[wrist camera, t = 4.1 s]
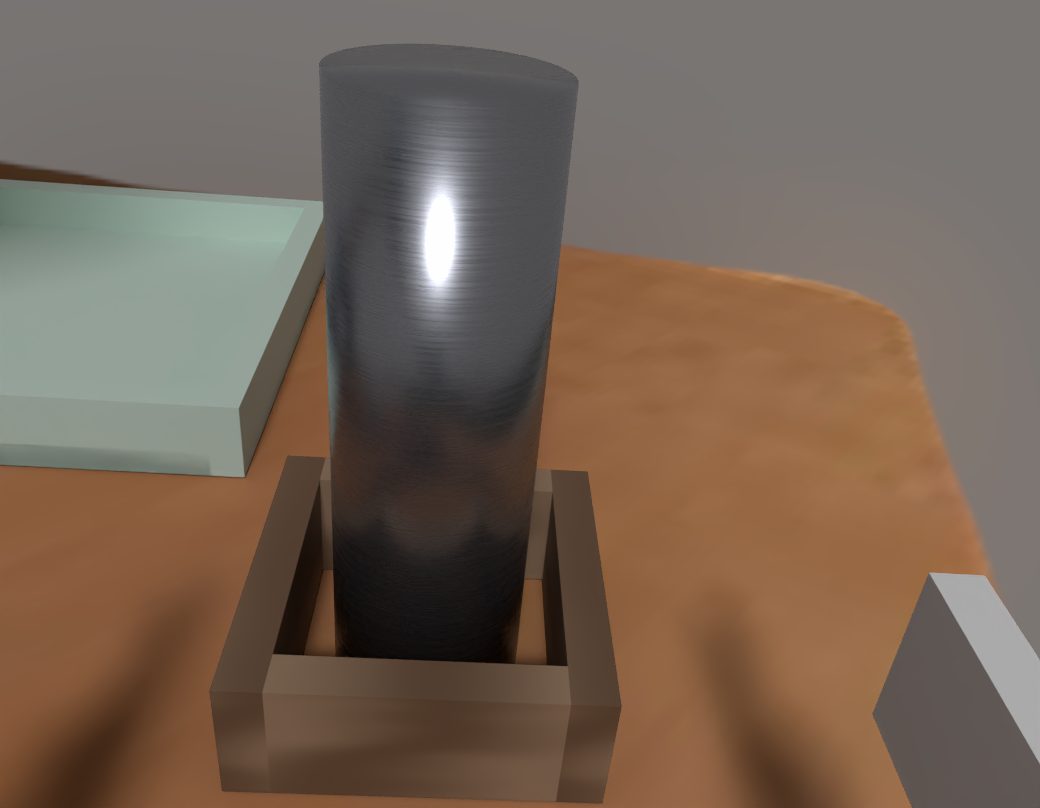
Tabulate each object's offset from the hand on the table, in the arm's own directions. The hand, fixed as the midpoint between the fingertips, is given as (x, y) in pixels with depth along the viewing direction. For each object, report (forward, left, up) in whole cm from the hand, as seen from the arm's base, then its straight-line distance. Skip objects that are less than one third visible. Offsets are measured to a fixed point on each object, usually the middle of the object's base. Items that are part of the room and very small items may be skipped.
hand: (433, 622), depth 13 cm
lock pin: (0, +7, -8) cm, 11 cm away
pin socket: (0, +7, -8) cm, 11 cm away
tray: (-14, +23, -8) cm, 29 cm away
